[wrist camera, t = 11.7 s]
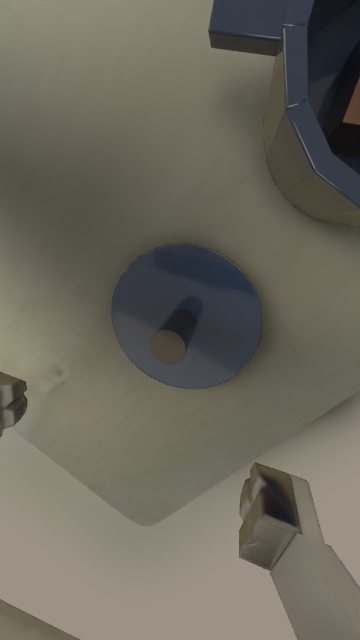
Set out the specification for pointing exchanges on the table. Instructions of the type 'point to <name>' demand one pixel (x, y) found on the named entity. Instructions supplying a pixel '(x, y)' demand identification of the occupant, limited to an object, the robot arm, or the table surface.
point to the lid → (187, 316)
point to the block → (346, 110)
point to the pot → (300, 93)
